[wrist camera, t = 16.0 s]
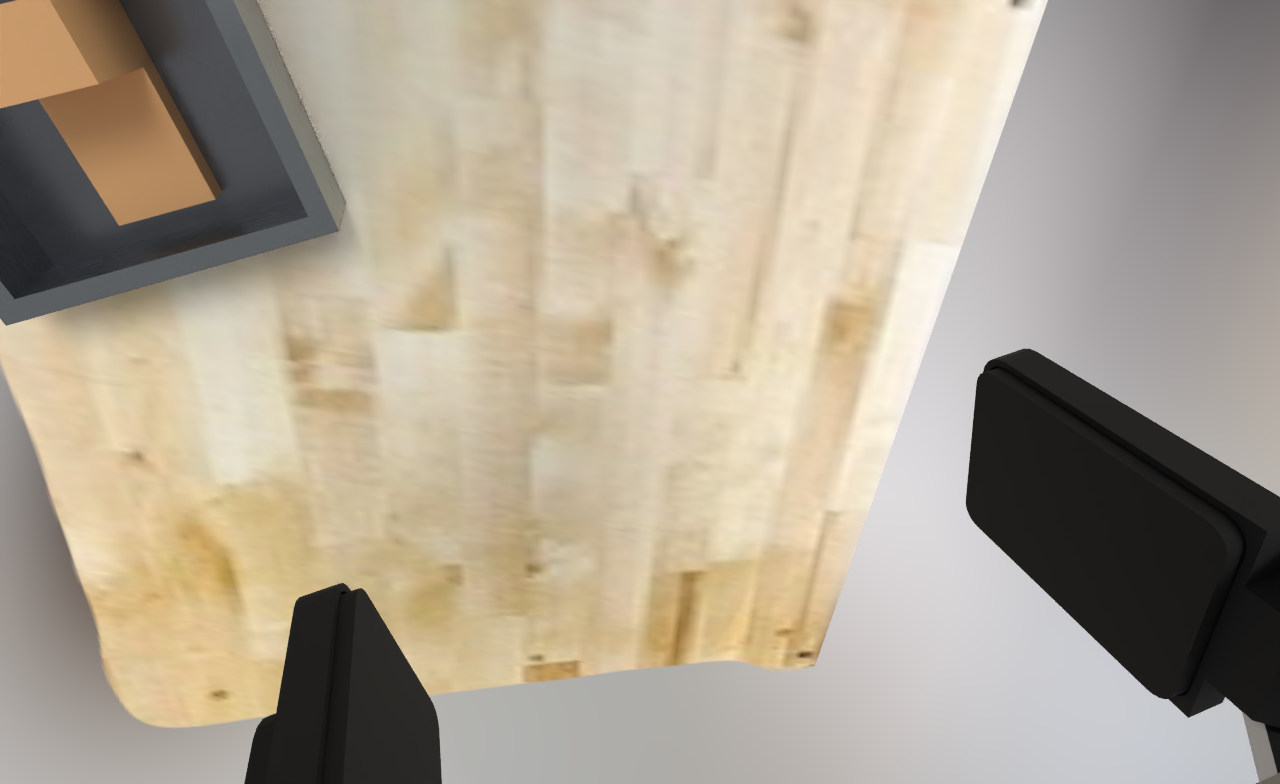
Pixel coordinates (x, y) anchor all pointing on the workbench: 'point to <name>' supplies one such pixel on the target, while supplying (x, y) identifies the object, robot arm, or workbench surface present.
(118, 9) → the tan stepped block
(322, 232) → the well box
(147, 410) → the workbench surface
